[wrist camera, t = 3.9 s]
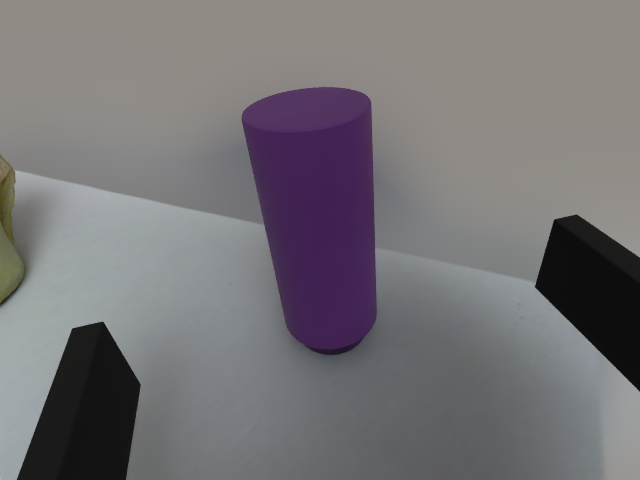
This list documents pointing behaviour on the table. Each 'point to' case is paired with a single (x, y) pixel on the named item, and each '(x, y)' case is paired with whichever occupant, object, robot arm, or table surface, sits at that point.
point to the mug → (8, 234)
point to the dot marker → (318, 210)
